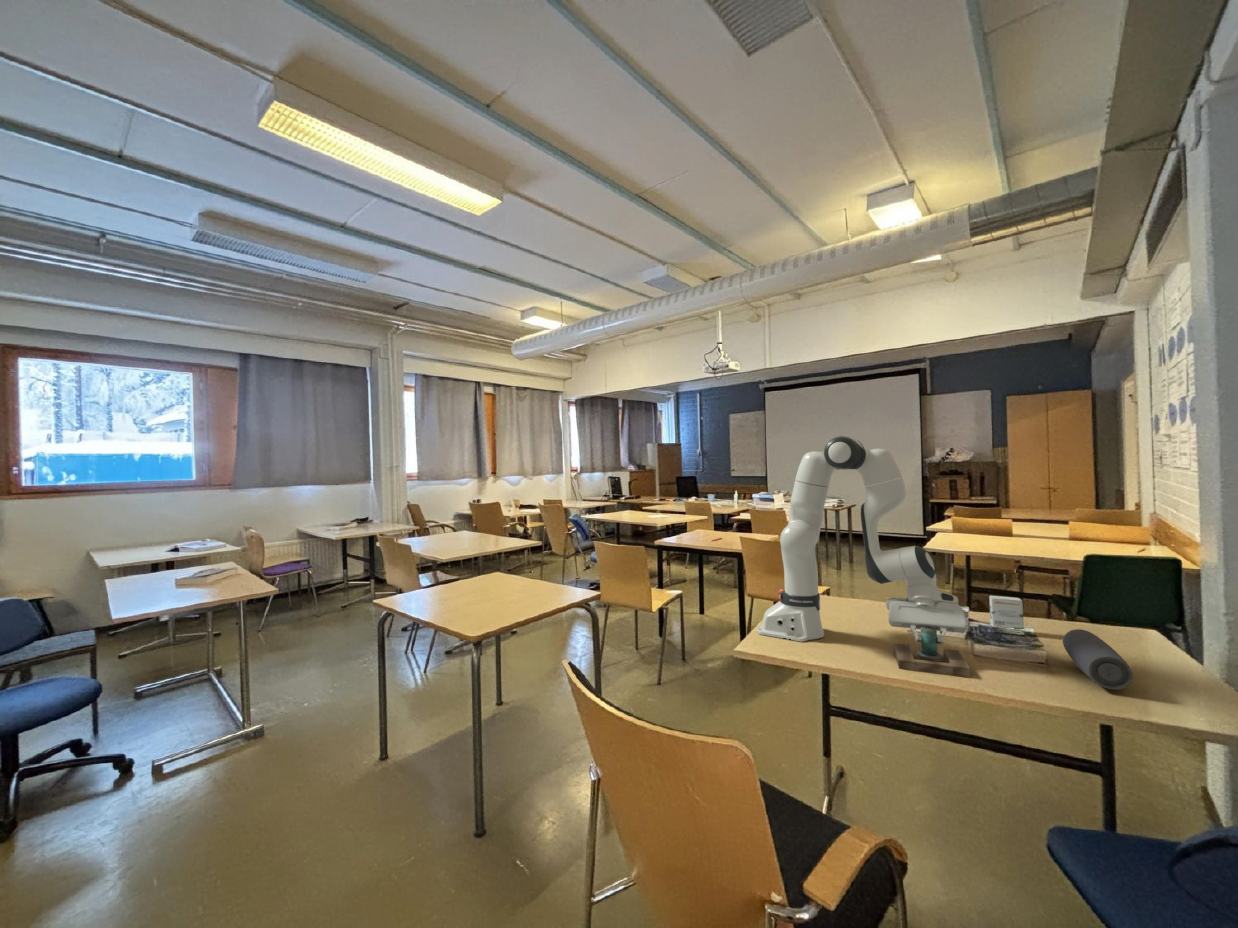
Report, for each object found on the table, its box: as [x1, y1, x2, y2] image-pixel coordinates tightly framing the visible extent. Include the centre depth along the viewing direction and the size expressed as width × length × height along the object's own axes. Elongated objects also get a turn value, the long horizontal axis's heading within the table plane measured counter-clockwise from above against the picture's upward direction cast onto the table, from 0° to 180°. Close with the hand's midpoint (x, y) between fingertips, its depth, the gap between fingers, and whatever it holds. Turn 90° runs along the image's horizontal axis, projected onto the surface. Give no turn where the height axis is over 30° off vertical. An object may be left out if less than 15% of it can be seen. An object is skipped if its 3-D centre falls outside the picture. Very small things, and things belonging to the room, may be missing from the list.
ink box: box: [989, 595, 1025, 630], centre depth 169 cm, size 9×5×12 cm, turn 61°
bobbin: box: [917, 627, 943, 661], centre depth 146 cm, size 6×6×8 cm
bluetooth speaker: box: [1062, 628, 1134, 690], centre depth 133 cm, size 23×9×10 cm, turn 151°
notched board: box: [893, 643, 971, 678], centre depth 145 cm, size 17×14×2 cm
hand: (929, 642), depth 145 cm, fingers closed on bobbin, 4 cm apart
